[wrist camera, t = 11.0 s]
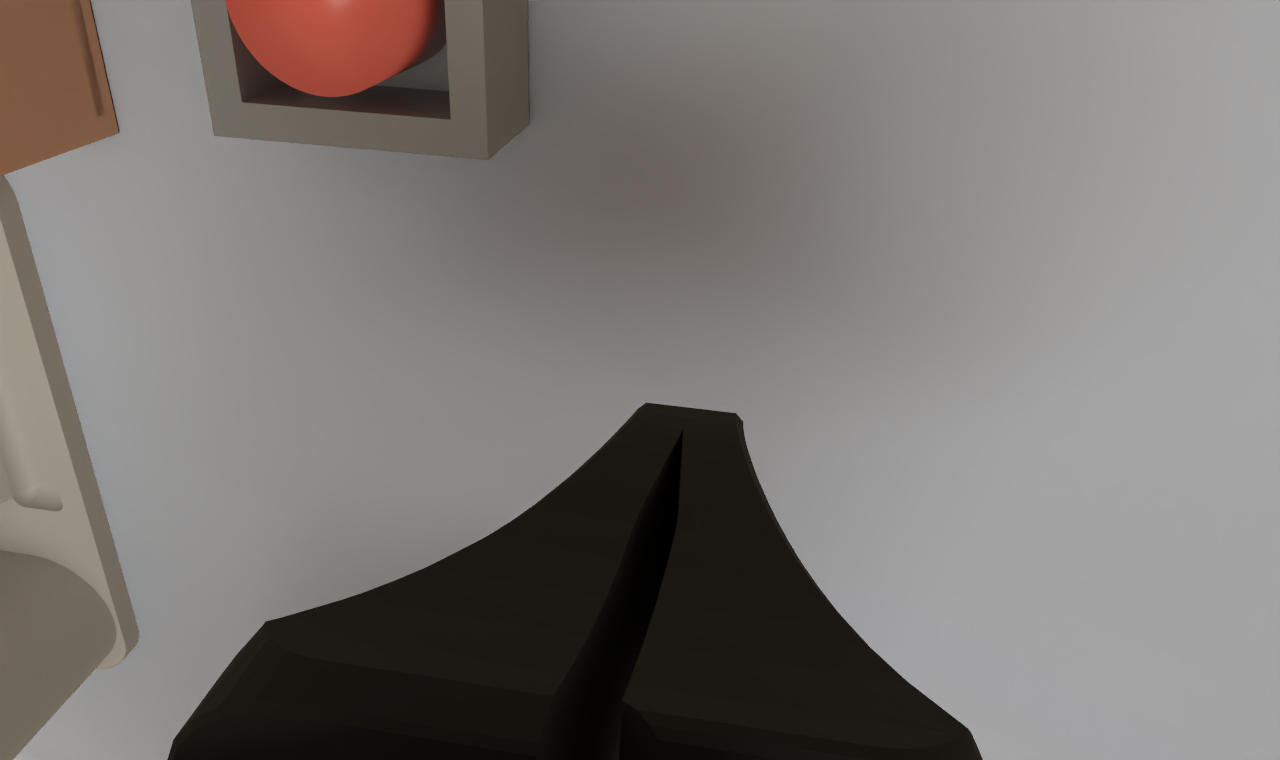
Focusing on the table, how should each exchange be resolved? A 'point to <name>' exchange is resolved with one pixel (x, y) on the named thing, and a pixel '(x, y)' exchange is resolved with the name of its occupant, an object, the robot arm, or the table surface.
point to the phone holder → (47, 515)
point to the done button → (339, 40)
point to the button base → (383, 89)
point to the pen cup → (50, 81)
